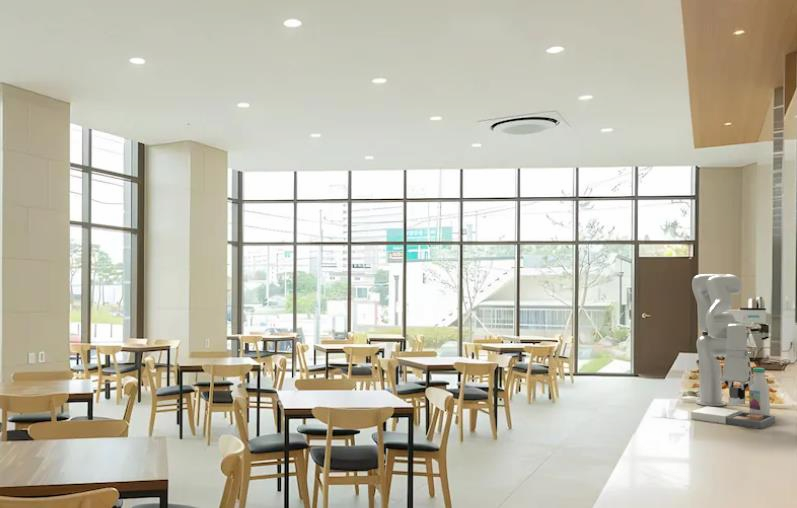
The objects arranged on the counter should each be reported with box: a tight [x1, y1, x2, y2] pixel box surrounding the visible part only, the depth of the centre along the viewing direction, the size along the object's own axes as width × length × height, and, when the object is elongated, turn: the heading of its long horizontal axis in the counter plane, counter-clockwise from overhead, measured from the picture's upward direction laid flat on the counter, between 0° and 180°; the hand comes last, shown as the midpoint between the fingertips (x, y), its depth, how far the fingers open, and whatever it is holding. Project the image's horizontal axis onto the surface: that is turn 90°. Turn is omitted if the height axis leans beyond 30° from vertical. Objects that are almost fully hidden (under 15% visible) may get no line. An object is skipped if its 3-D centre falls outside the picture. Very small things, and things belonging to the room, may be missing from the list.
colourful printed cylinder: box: [748, 367, 771, 416], centre depth 307 cm, size 8×8×20 cm
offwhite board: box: [690, 405, 741, 424], centre depth 301 cm, size 16×14×3 cm
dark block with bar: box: [728, 386, 746, 406], centre depth 295 cm, size 15×3×7 cm, turn 135°
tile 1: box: [733, 416, 750, 420], centre depth 289 cm, size 5×5×2 cm
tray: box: [726, 411, 776, 430], centre depth 291 cm, size 16×13×2 cm
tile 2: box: [746, 414, 764, 422], centre depth 293 cm, size 5×5×2 cm
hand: (737, 397), depth 295 cm, fingers closed on dark block with bar, 3 cm apart
